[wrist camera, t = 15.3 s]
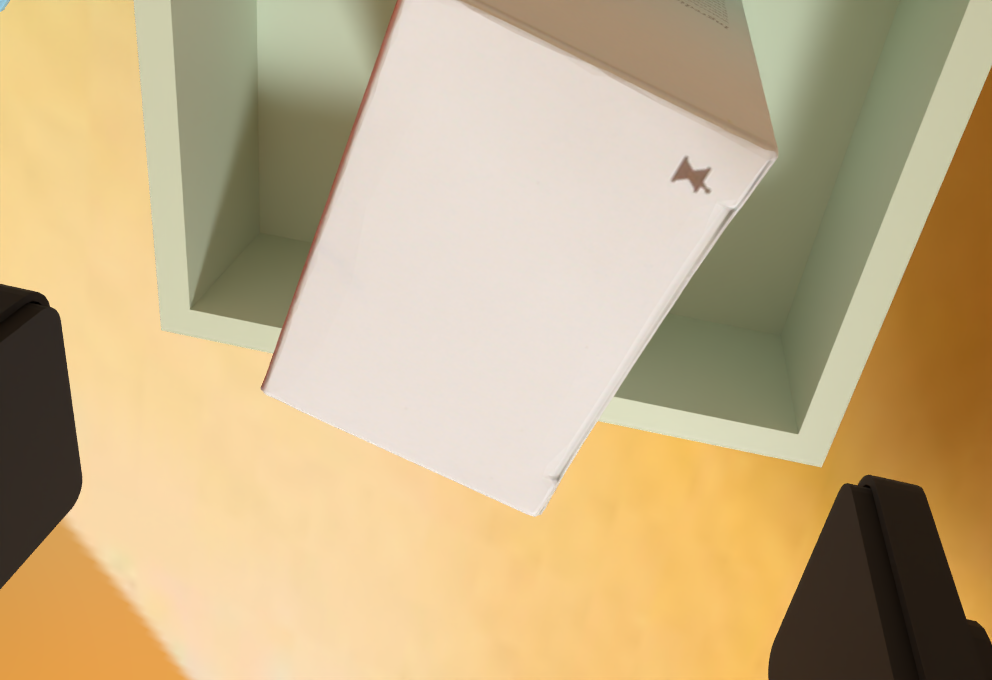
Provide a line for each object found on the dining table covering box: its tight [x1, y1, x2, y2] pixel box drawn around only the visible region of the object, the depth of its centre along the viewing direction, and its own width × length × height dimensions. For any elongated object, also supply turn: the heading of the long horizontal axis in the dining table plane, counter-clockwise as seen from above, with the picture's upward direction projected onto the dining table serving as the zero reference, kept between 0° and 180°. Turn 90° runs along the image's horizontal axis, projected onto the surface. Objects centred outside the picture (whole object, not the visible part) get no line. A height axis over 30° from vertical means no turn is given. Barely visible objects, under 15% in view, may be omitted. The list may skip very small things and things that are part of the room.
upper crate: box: [134, 0, 992, 467], centre depth 21 cm, size 17×13×5 cm
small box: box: [261, 0, 778, 516], centre depth 18 cm, size 8×6×10 cm
